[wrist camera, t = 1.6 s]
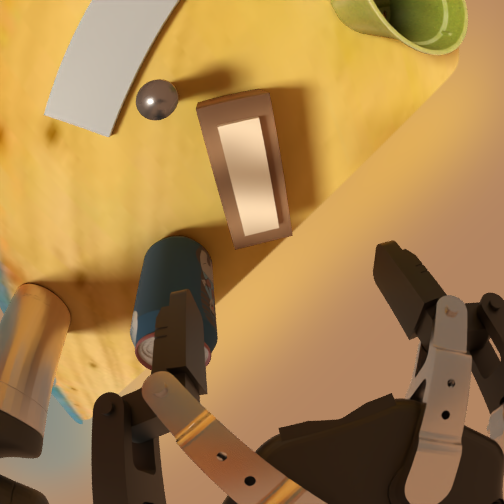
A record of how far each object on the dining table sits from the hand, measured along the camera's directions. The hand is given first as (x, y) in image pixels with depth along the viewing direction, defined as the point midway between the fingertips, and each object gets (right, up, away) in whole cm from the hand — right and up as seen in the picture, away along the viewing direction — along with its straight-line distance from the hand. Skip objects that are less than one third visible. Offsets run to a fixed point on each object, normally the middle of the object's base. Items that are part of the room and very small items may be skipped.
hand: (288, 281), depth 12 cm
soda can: (-9, +1, +18) cm, 20 cm away
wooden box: (-2, +9, +12) cm, 16 cm away
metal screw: (-8, +14, +8) cm, 18 cm away
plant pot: (+8, +23, +4) cm, 24 cm away
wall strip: (-10, +22, +1) cm, 24 cm away
